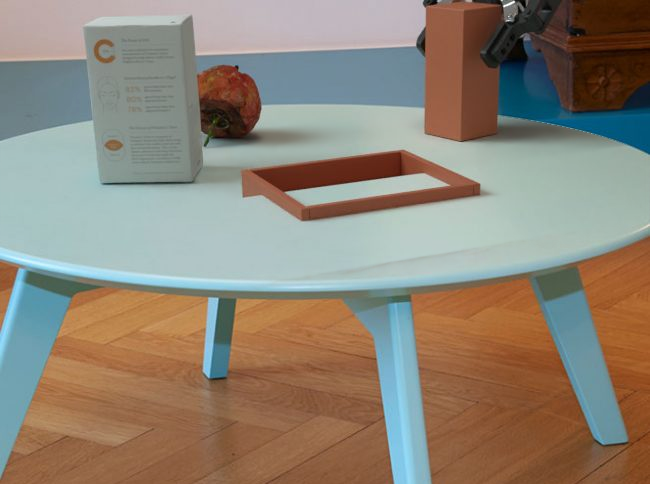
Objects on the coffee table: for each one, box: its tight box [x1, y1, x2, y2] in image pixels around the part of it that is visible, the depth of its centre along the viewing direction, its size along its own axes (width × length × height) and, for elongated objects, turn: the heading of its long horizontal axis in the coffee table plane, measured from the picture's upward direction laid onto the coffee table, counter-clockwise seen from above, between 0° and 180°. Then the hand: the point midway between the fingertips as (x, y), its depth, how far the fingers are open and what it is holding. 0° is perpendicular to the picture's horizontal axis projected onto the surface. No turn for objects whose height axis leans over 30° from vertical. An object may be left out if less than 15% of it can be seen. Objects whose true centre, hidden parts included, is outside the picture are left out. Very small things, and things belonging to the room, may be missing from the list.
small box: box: [82, 14, 204, 184], centre depth 95 cm, size 8×6×13 cm
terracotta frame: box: [240, 149, 481, 222], centre depth 86 cm, size 14×12×3 cm
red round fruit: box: [197, 64, 263, 148], centre depth 108 cm, size 7×7×10 cm
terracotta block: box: [423, 1, 502, 142], centre depth 108 cm, size 5×5×12 cm
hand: (454, 57), depth 106 cm, fingers open, 8 cm apart
